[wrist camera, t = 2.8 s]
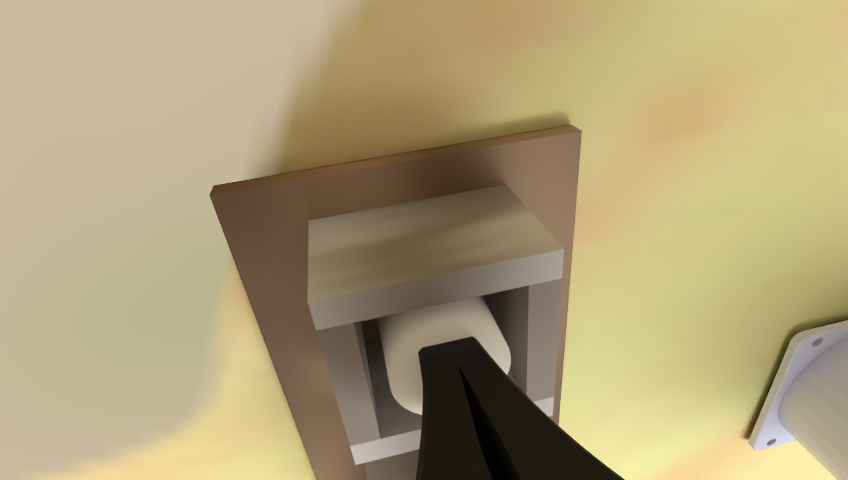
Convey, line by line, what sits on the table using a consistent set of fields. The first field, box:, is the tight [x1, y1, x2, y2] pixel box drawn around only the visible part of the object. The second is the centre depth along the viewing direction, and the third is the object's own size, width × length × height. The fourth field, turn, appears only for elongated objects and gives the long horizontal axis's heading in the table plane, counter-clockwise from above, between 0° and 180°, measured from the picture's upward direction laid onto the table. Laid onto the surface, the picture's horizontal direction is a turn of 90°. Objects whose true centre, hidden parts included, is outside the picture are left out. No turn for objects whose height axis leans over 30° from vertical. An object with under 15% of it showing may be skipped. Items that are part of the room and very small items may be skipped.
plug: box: [377, 295, 511, 415], centre depth 13 cm, size 3×3×3 cm
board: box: [210, 125, 582, 480], centre depth 17 cm, size 10×24×4 cm, turn 6°
